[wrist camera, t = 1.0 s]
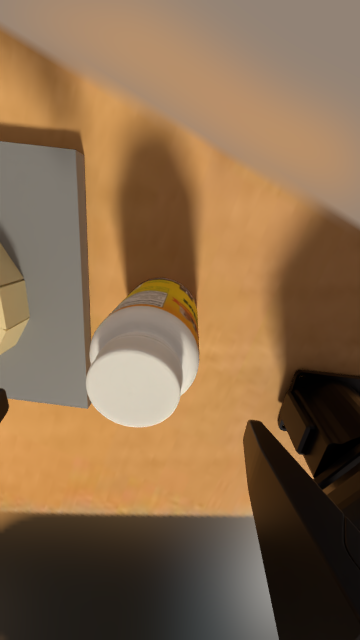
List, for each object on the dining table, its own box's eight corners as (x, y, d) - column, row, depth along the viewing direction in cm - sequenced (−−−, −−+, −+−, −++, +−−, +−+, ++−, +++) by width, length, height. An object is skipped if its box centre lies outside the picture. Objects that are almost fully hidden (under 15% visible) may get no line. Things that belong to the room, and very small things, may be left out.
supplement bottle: (198, 340, 20) (201, 444, 10) (132, 341, 20) (79, 442, 11) (197, 274, 18) (199, 328, 8) (124, 276, 18) (49, 330, 9)
